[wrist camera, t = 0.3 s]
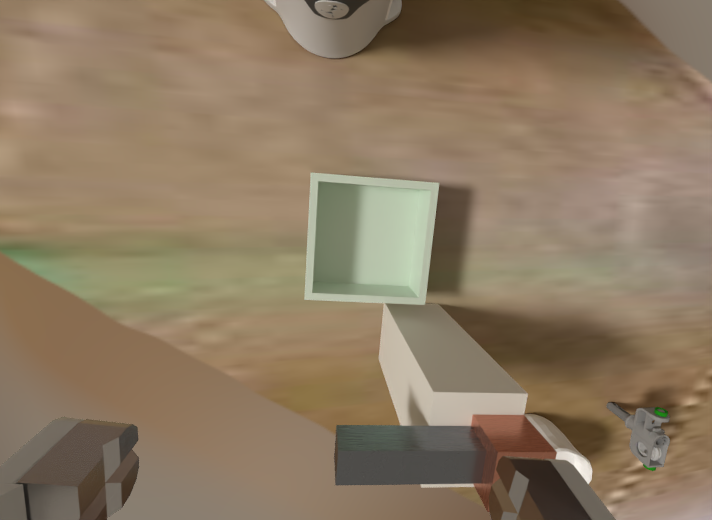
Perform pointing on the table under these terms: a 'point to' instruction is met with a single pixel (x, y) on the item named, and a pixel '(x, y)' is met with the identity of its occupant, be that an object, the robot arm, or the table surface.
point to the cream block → (441, 371)
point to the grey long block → (435, 452)
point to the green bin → (369, 239)
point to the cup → (561, 445)
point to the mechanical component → (646, 434)
